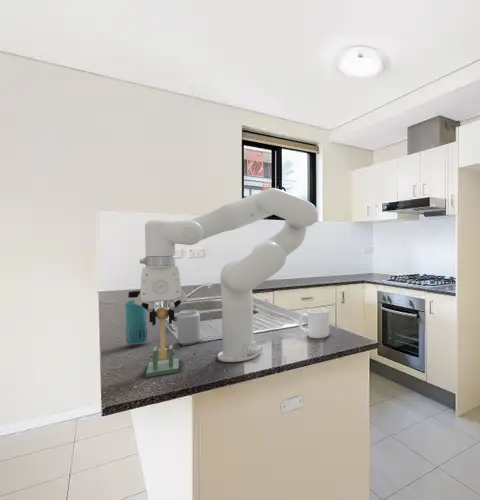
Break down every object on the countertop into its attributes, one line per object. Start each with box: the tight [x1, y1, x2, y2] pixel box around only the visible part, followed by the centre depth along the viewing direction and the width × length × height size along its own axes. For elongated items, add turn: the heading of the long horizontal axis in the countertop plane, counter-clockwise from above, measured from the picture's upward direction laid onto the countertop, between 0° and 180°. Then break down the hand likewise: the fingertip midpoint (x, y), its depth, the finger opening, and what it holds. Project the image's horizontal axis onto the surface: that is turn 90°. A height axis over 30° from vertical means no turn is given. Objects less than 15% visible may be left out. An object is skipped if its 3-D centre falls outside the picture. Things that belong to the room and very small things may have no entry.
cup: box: [298, 308, 330, 339], centre depth 141 cm, size 8×12×10 cm
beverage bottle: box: [124, 290, 148, 345], centre depth 129 cm, size 6×7×20 cm
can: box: [176, 309, 201, 346], centre depth 132 cm, size 8×8×12 cm
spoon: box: [155, 306, 169, 361], centre depth 106 cm, size 15×4×4 cm
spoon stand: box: [145, 344, 180, 378], centre depth 105 cm, size 10×8×6 cm
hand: (162, 323), depth 105 cm, fingers closed on spoon, 3 cm apart
